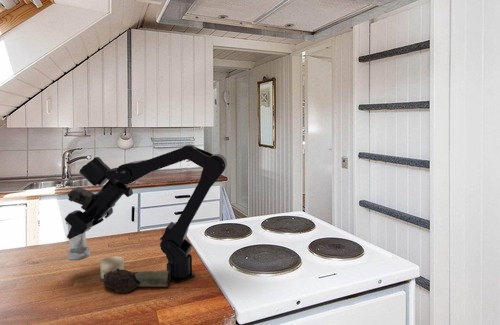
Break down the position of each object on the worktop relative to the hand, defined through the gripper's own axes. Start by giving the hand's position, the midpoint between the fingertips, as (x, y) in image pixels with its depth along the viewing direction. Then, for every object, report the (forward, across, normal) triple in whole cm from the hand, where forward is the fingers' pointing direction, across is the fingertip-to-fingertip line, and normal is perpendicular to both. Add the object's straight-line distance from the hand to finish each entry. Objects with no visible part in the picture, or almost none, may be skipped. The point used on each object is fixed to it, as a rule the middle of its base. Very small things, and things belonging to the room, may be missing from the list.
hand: (72, 235), depth 100 cm
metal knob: (+4, 0, +6) cm, 7 cm away
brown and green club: (-4, +7, +24) cm, 25 cm away
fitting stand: (+2, 0, +17) cm, 17 cm away
